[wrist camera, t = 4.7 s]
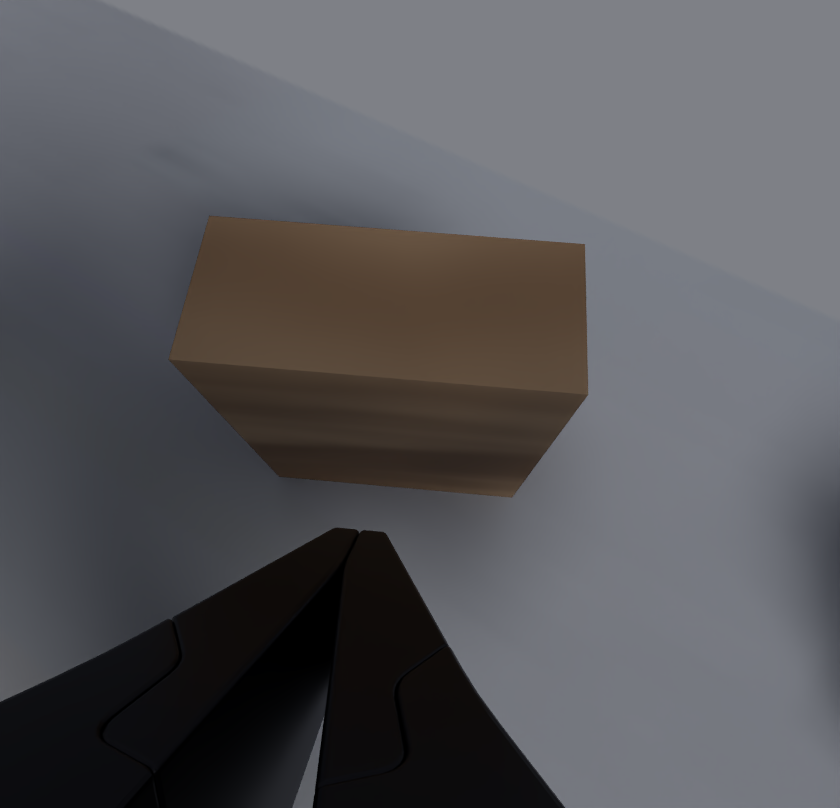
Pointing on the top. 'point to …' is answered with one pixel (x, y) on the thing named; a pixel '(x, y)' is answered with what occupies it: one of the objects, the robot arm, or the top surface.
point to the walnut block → (387, 350)
